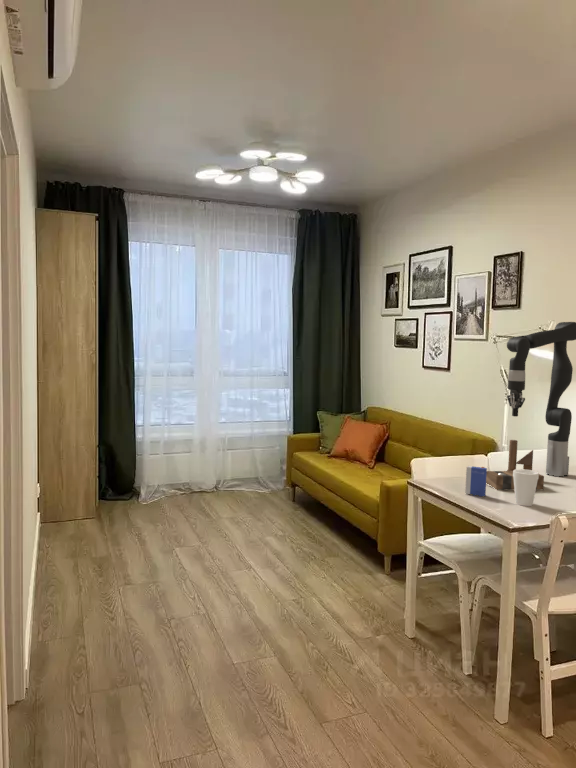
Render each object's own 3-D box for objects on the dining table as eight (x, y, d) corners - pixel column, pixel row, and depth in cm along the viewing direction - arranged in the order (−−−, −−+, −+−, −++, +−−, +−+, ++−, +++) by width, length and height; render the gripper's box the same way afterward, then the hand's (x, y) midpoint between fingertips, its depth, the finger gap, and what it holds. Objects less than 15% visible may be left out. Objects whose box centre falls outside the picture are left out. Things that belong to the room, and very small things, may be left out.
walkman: (485, 495, 247) (486, 467, 246) (484, 496, 244) (485, 468, 244) (466, 492, 251) (467, 464, 250) (465, 494, 248) (466, 466, 247)
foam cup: (530, 500, 240) (532, 469, 239) (540, 507, 231) (542, 474, 230) (507, 500, 240) (509, 469, 239) (516, 506, 230) (518, 474, 229)
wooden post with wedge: (530, 480, 276) (532, 442, 275) (506, 477, 281) (508, 440, 280) (531, 479, 279) (533, 441, 278) (507, 476, 284) (509, 439, 283)
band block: (531, 483, 269) (532, 471, 269) (543, 489, 259) (544, 476, 259) (485, 484, 267) (486, 471, 266) (495, 489, 257) (496, 476, 256)
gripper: (531, 380, 271) (529, 418, 273) (516, 378, 284) (515, 414, 286) (516, 380, 270) (514, 418, 272) (502, 378, 283) (500, 414, 285)
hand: (514, 416), depth 279 cm, fingers closed
